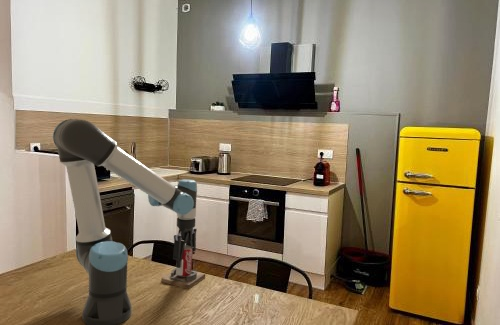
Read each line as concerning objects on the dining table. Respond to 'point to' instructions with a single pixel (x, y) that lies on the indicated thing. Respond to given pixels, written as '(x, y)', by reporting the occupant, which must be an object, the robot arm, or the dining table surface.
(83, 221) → the robot arm
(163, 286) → the dining table surface
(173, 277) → the socket board
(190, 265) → the beverage can
